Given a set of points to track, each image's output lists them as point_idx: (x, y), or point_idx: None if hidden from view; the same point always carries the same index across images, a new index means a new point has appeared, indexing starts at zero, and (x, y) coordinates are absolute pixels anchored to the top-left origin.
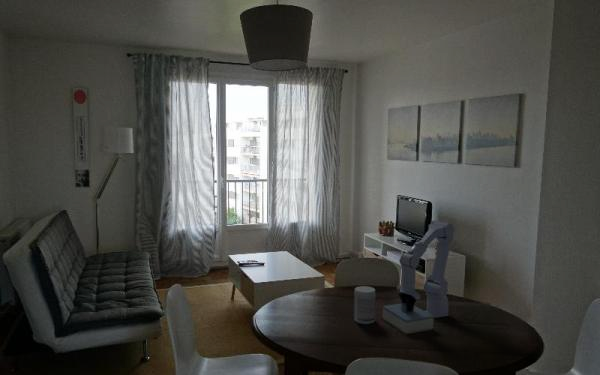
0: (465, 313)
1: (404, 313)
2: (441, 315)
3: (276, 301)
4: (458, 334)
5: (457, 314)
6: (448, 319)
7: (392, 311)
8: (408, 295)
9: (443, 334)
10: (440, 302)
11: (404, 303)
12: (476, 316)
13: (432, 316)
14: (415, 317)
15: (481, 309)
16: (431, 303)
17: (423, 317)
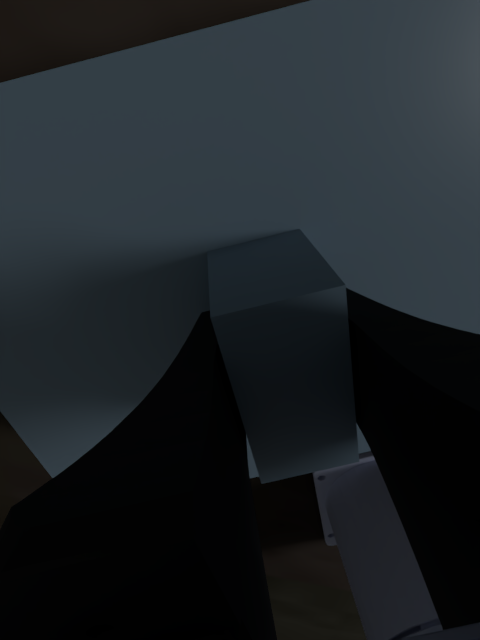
0: (332, 592)
1: (170, 238)
2: (327, 514)
3: None
4: None
5: (331, 567)
6: (275, 523)
7: (298, 23)
8: (434, 565)
9: (20, 443)
10: (360, 617)
11: (304, 341)
12: (284, 613)
13: None
14: (4, 343)
15: (354, 637)
16: (390, 563)
17: (19, 429)
